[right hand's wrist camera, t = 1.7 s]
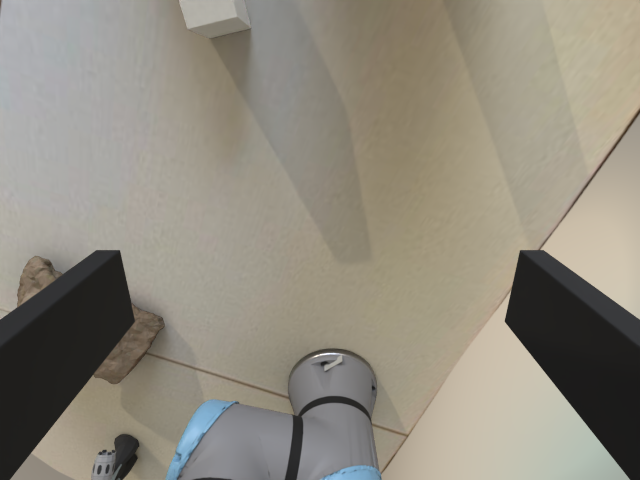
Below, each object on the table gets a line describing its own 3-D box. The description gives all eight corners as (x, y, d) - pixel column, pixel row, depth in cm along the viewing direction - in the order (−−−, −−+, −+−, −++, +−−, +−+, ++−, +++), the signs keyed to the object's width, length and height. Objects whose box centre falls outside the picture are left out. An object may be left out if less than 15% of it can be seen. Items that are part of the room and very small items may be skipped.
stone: (-6, 328, 58) (-30, 350, 52) (39, 248, 56) (20, 262, 51) (129, 375, 66) (121, 399, 60) (172, 306, 64) (168, 323, 58)
